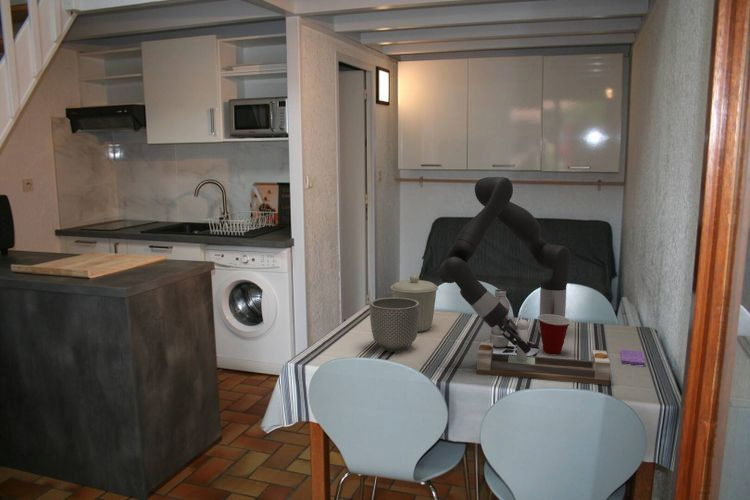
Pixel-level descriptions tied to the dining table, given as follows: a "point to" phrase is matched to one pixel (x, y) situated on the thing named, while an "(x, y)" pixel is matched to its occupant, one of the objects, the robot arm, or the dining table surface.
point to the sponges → (632, 357)
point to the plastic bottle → (496, 334)
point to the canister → (418, 298)
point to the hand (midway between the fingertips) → (528, 349)
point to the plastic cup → (553, 332)
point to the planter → (394, 322)
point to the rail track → (545, 367)
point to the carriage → (521, 356)
